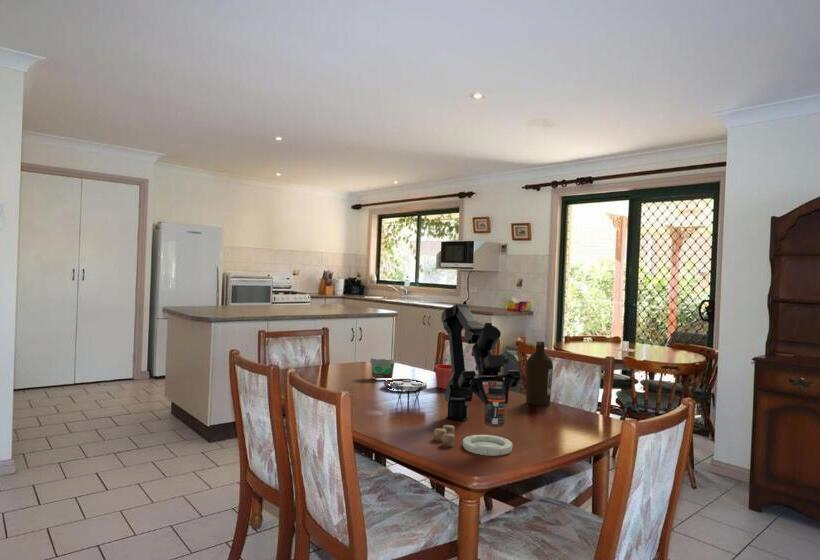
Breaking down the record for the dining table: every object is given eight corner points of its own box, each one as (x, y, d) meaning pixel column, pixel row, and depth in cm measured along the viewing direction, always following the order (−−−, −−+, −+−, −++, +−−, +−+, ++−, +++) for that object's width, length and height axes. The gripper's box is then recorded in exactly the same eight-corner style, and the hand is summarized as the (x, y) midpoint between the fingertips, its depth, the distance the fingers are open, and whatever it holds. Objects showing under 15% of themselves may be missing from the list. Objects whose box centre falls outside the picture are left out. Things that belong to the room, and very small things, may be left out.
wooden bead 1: (434, 441, 165) (434, 431, 165) (434, 437, 169) (434, 428, 169) (446, 441, 165) (446, 432, 165) (445, 438, 169) (446, 428, 169)
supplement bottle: (500, 429, 157) (501, 390, 157) (480, 425, 160) (482, 387, 160) (507, 424, 162) (508, 386, 162) (488, 421, 165) (489, 383, 165)
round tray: (457, 451, 157) (457, 444, 157) (470, 438, 170) (471, 432, 170) (505, 458, 151) (506, 452, 151) (515, 444, 164) (516, 438, 164)
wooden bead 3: (445, 447, 160) (445, 437, 160) (440, 443, 163) (440, 433, 163) (456, 446, 161) (456, 436, 161) (451, 443, 164) (452, 433, 164)
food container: (366, 380, 257) (367, 359, 257) (369, 378, 263) (370, 357, 263) (392, 382, 255) (393, 360, 255) (395, 379, 261) (395, 358, 261)
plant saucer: (392, 394, 229) (392, 387, 229) (377, 386, 245) (377, 379, 245) (430, 392, 236) (430, 385, 236) (413, 384, 252) (413, 377, 252)
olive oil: (523, 404, 217) (525, 342, 217) (526, 399, 227) (528, 339, 227) (550, 407, 214) (553, 343, 214) (552, 402, 224) (555, 341, 224)
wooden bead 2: (441, 436, 170) (441, 427, 170) (444, 433, 174) (445, 424, 174) (452, 438, 169) (452, 428, 169) (455, 435, 172) (455, 425, 172)
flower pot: (459, 391, 240) (460, 368, 240) (434, 390, 240) (435, 367, 240) (458, 386, 251) (458, 364, 250) (434, 385, 251) (434, 364, 251)
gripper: (462, 343, 162) (474, 389, 152) (520, 344, 167) (535, 388, 156) (453, 365, 170) (463, 410, 160) (508, 365, 175) (522, 408, 164)
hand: (496, 403), depth 160 cm, fingers closed on supplement bottle, 6 cm apart
